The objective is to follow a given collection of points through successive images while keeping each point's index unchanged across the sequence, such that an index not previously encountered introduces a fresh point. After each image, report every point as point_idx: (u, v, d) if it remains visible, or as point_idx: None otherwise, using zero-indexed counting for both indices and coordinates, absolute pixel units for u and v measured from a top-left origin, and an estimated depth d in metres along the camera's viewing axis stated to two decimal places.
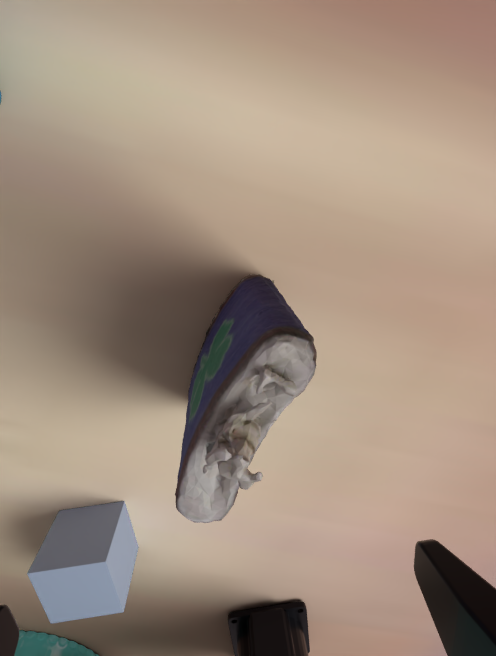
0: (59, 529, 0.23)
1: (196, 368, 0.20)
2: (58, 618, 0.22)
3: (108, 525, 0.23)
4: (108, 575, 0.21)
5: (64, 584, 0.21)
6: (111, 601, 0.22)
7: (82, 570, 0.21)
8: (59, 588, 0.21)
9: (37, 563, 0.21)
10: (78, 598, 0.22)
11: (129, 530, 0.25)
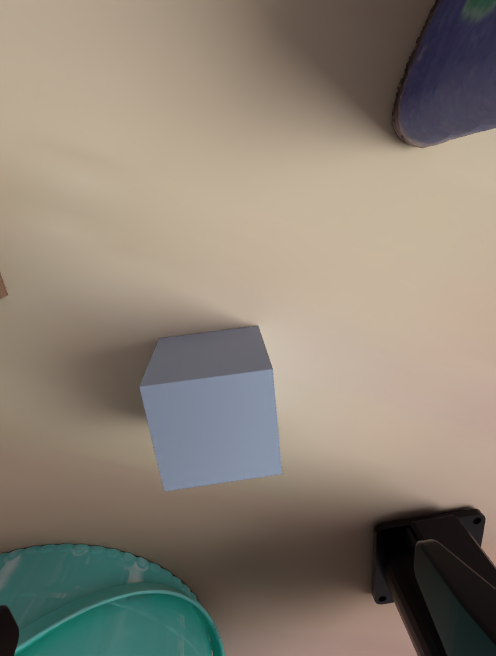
0: (170, 350, 0.15)
1: (446, 14, 0.11)
2: (178, 481, 0.13)
3: (249, 343, 0.14)
4: (272, 398, 0.12)
5: (196, 413, 0.12)
6: (266, 452, 0.13)
7: (230, 385, 0.12)
8: (187, 422, 0.12)
9: (152, 377, 0.12)
10: (215, 442, 0.13)
11: None
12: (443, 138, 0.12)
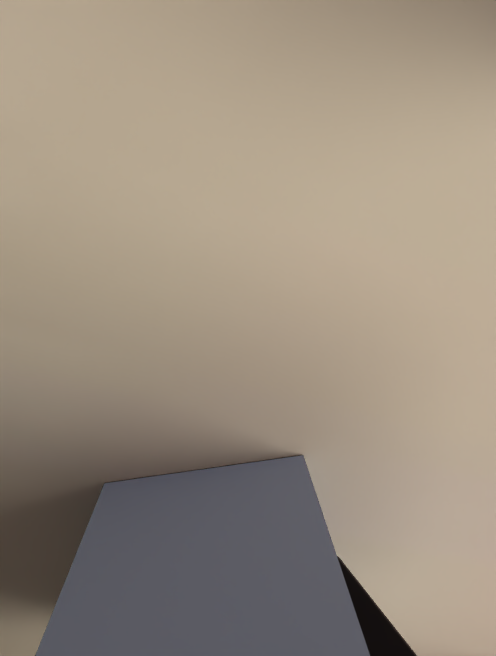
0: (114, 548, 0.06)
1: None
2: None
3: (297, 535, 0.06)
4: None
5: None
6: None
7: None
8: None
9: None
10: None
11: None
12: None
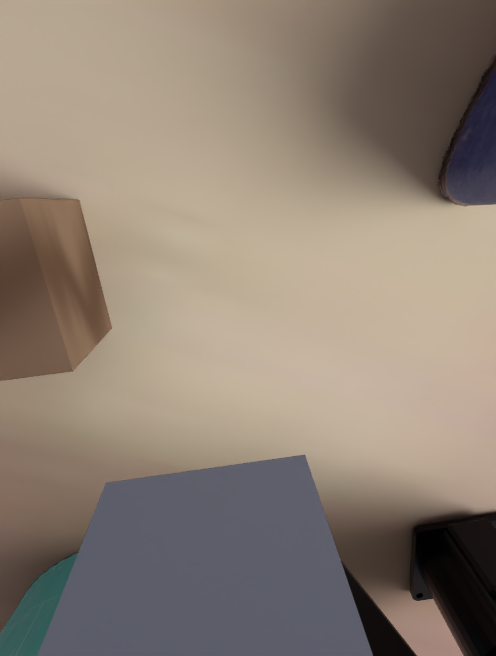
0: (116, 548, 0.06)
1: (489, 107, 0.14)
2: None
3: (299, 535, 0.06)
4: None
5: None
6: None
7: None
8: None
9: None
10: None
11: None
12: (486, 204, 0.15)
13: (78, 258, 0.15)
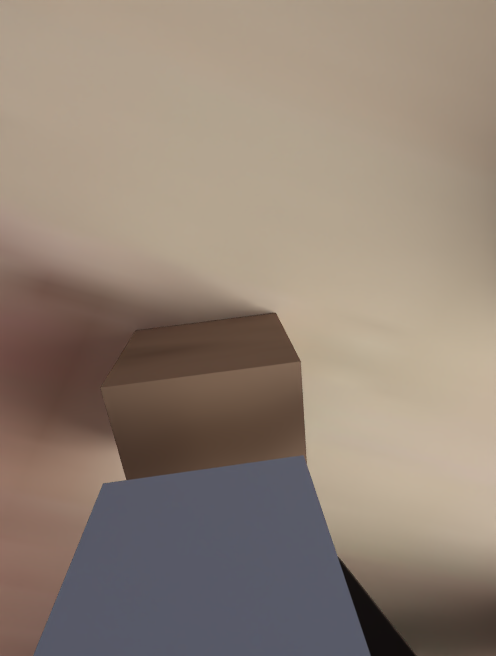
0: (113, 549, 0.06)
1: None
2: None
3: (297, 536, 0.06)
4: None
5: None
6: None
7: None
8: None
9: None
10: None
11: None
12: None
13: None
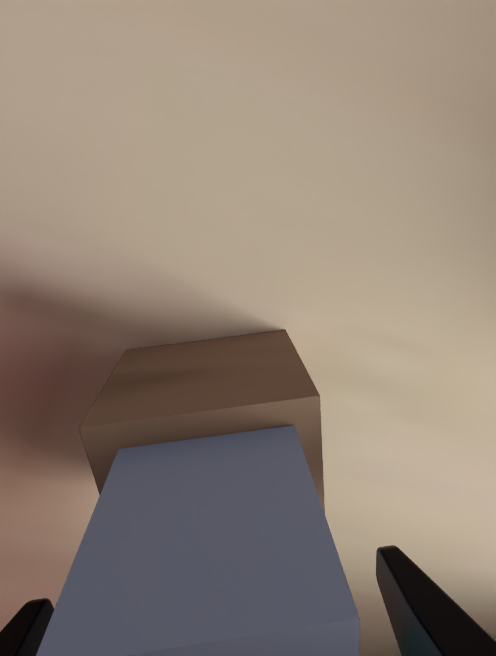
0: (130, 498, 0.07)
1: None
2: None
3: (287, 487, 0.07)
4: None
5: None
6: None
7: (257, 653, 0.05)
8: None
9: (72, 618, 0.05)
10: None
11: None
12: None
13: None
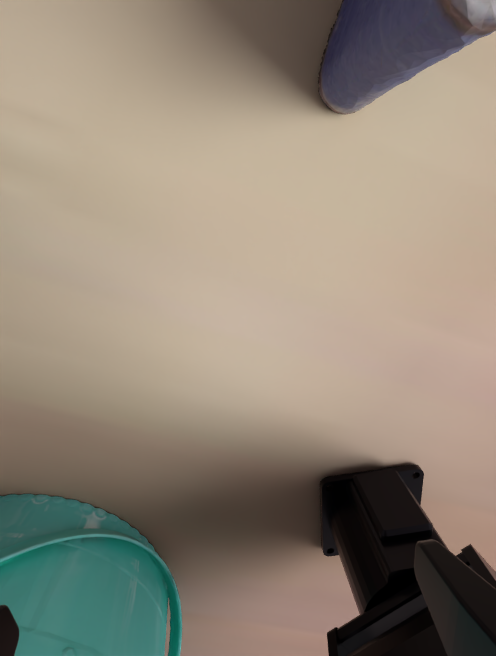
0: None
1: None
2: None
3: None
4: None
5: None
6: None
7: None
8: None
9: None
10: None
11: None
12: (355, 102, 0.13)
13: None
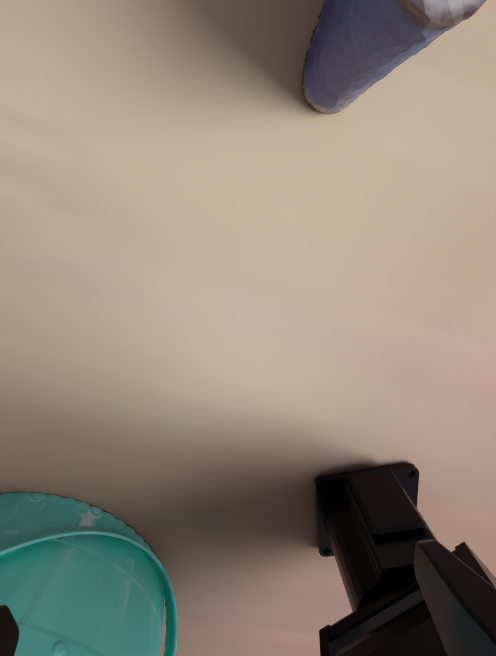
0: None
1: None
2: None
3: None
4: None
5: None
6: None
7: None
8: None
9: None
10: None
11: None
12: (336, 101, 0.13)
13: None
